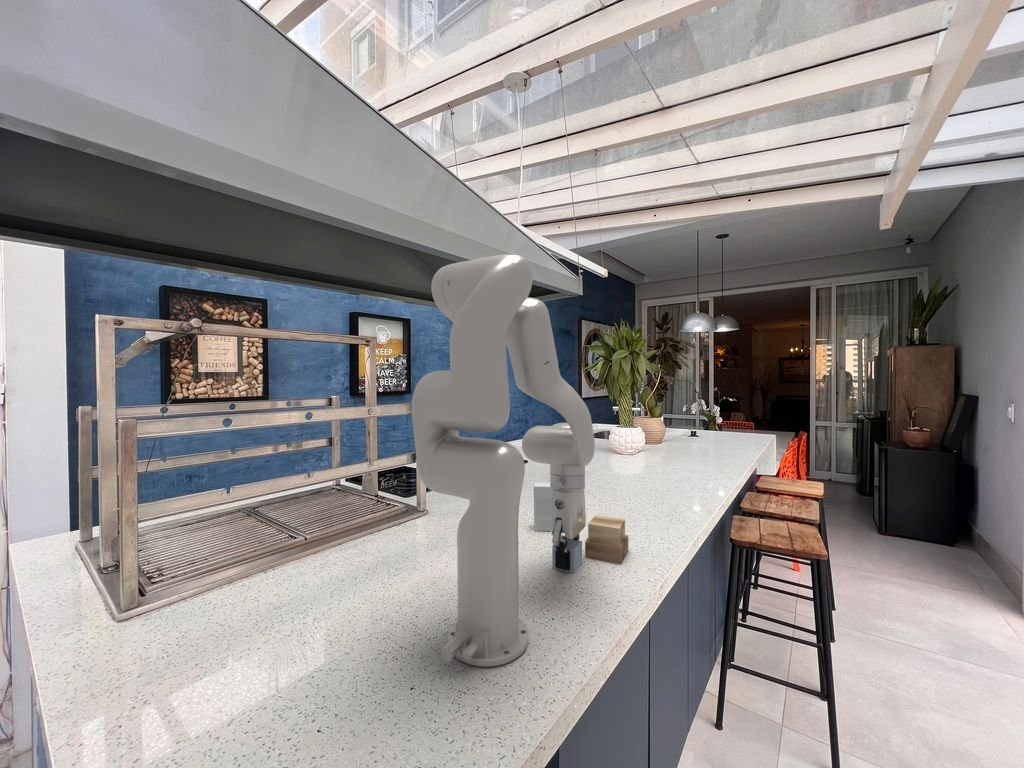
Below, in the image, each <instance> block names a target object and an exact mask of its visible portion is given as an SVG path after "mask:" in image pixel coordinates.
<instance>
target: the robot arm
mask: <svg viewBox="0 0 1024 768" xmlns="http://www.w3.org/2000/svg"><path fill="white" fill-rule="evenodd" d="M533 275H534V274H533V268H532V265H531V263H530V262H529V260H528V259H527V258H525V257H524V256H521V255H519V254H506V253H504V254H498V255H491V256H487V257H479V258H475V259H471V260H464V261H460V262H455V263H450V264H447V265H444V266H442V267H441V268H439V269H438V270H437V271H436V272H435V274H434V275H433V277H432V280H431V288H430V289H431V294H432V298H433V301H434V303H435V305H436V307H437V308H438V309H439V310H440V312H441V313H442V314H443V315H444V316H445V317H446V318H447V319H448V320H449V321H451V322H452V326H451V329H450V335H449V362H450V363H449V365H450V366H449V367H450V369H448V370H446V369H445V370H443V369H442V370H434V371H430V372H428V373H427V374H425V375H424V376H422V378H420V379H419V381H418V382H417V384H416V385H415V387H414V391H413V394H412V399H411V419H412V420H411V421H412V428H413V429H412V430H413V436H414V446H415V449H414V450H415V456H416V465H417V471H418V474H419V478H420V480H421V482H422V483H423V485H424V487H426V488H427V489H428V490H430V491H432V492H435V493H438V494H442V495H446V496H452V497H457V498H461V499H466V500H468V501H469V505H468V507H467V508H466V511H465V512H464V513H463V515H462V517H461V518H460V520H459V523H458V527H457V530H456V531H457V533H456V545H457V546H456V549H457V551H456V552H457V553H456V554H457V557H456V559H457V565H456V566H457V567H456V568H457V574H456V577H457V621H455V622H454V623H453V625H452V626H451V627H450V628H449V631H448V634H447V643H446V644H445V645H444V646H443V647H442V648H441V650H440V655H441V657H442V659H443V660H444V661H445V662H450V661H452V660H453V659H454V657H455V658H456V659H457V660H458V661H461V662H462V663H465V664H467V665H471V666H476V667H497V666H502V665H505V664H507V663H510V662H512V661H514V660H515V659H517V658H519V657H520V656H521V655H522V654H523V653H524V652H525V650H526V649H527V646H528V644H529V630H528V627H527V626H526V624H525V623H524V621H523V620H521V619H520V618H519V617H520V616H519V610H520V605H519V513H520V512H519V511H520V501H521V495H522V490H523V485H524V478H525V471H526V469H525V466H526V465H525V460H524V457H523V455H524V456H525V457H526V458H527V459H528V460H529V461H532V462H535V463H538V464H539V463H540V464H545V465H549V483H550V488H552V489H553V491H552V501H551V531H550V533H551V535H552V539H551V543H552V545H553V544H554V546H555V567H556V568H558V569H562V570H567V571H569V570H570V551H569V540H570V539H573V540H578V541H580V536H581V535H580V533H581V532H582V531H583V530H584V528H585V527H586V526H587V518H586V516H587V513H586V496H585V495H586V493H585V489H586V467H587V466H588V465H590V463H591V462H592V460H593V458H594V457H595V450H596V449H595V447H596V444H595V435H594V429H593V422H592V416H591V413H590V410H589V408H588V406H587V404H586V402H585V401H584V400H583V399H582V397H581V396H580V394H578V392H577V391H576V390H575V388H573V386H571V385H570V384H569V382H567V381H566V380H565V379H564V378H563V377H562V375H561V372H560V367H559V361H558V356H557V351H556V344H555V341H554V340H555V339H554V332H553V329H552V324H551V319H550V318H551V317H550V313H549V309H548V307H547V306H546V304H545V303H544V302H543V301H542V300H540V299H538V298H534V297H529V295H530V292H531V289H532V286H533V279H534V278H533ZM507 351H508V354H509V355H508V354H507ZM507 355H508V356H509V357H510V358H509V359H510V362H511V366H512V371H513V376H514V380H515V384H516V387H517V388H518V389H519V390H520V391H521V392H522V393H524V394H526V395H528V396H529V397H532V398H534V399H536V400H537V401H539V402H541V403H543V404H545V405H547V406H549V407H550V408H552V409H553V410H555V411H556V412H557V413H558V414H560V415H561V416H562V417H563V419H565V420H566V421H565V422H558V423H554V424H552V425H535V426H533V427H530V428H529V429H528V430H527V431H526V432H525V433H524V435H523V437H522V441H521V449H522V450H521V451H522V452H523V455H522V453H521V451H520V450H519V449H518V448H517V447H516V446H514V445H512V444H511V443H509V442H506V441H504V440H503V441H502V440H500V439H499V440H498V439H495V438H494V439H491V438H483V437H475V436H474V437H468V436H459V432H471V433H491V432H497V431H500V429H502V428H504V426H505V425H506V424H507V423H508V420H509V417H510V410H511V408H510V407H511V399H510V398H511V397H510V386H509V385H510V384H509V371H508V358H507V357H508V356H507ZM563 534H564V535H563ZM561 539H565V544H564V542H562V541H561ZM558 569H557V570H558ZM562 570H561V571H562ZM567 571H566V572H567Z"/></svg>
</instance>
